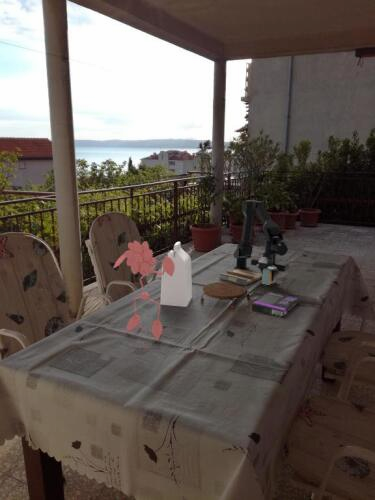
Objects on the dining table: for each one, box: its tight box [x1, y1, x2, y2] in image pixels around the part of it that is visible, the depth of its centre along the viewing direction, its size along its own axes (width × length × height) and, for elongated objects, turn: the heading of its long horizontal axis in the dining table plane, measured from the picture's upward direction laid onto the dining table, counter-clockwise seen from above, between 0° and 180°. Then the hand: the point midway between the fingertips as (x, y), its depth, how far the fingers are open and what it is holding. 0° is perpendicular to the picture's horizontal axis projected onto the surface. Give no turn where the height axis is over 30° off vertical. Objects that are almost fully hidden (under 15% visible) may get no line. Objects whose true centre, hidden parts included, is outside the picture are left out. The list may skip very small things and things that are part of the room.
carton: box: [261, 266, 276, 286], centre depth 198 cm, size 4×6×8 cm, turn 141°
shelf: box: [219, 268, 262, 286], centre depth 207 cm, size 18×16×3 cm
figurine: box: [113, 240, 175, 350], centre depth 133 cm, size 15×26×35 cm, turn 60°
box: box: [251, 291, 300, 317], centre depth 170 cm, size 14×4×20 cm
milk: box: [159, 241, 193, 308], centre depth 171 cm, size 12×12×26 cm
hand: (268, 280), depth 199 cm, fingers closed on carton, 4 cm apart
